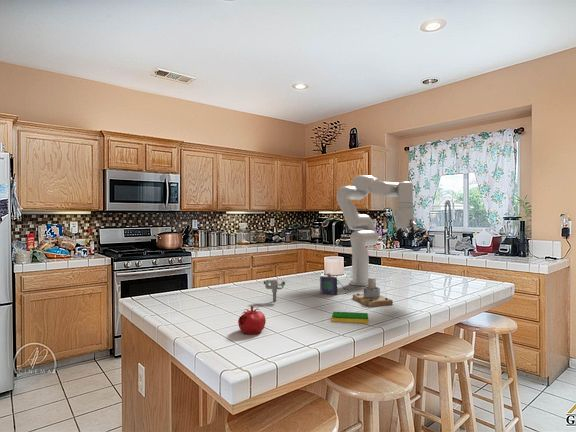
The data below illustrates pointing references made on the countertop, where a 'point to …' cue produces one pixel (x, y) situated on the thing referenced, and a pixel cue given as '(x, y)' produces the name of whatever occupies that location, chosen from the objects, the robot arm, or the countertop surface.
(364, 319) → the dish sponge
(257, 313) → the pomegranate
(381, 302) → the shaft block
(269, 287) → the mechanical component
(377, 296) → the grey hollow octagonal piece
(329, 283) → the flask
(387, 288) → the countertop surface
